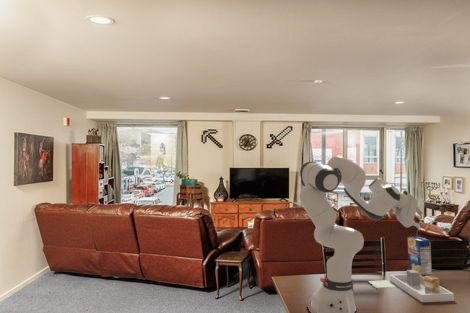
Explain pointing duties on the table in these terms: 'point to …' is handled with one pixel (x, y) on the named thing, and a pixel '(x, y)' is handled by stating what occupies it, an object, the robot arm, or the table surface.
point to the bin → (421, 290)
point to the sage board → (381, 284)
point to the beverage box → (420, 255)
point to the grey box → (413, 277)
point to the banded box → (431, 285)
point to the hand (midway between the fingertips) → (420, 220)
